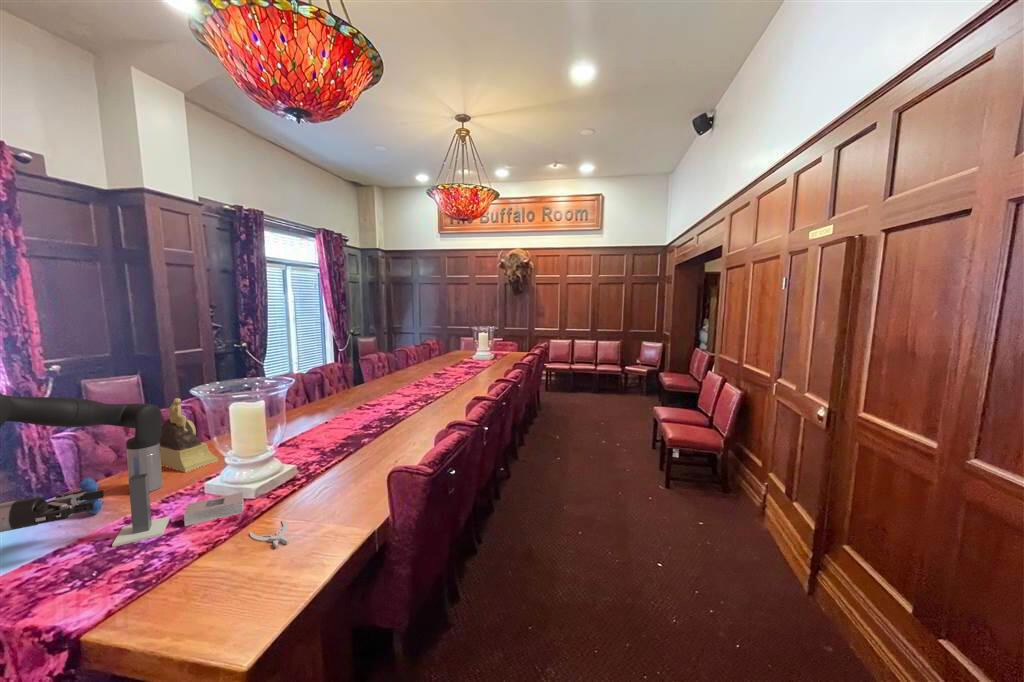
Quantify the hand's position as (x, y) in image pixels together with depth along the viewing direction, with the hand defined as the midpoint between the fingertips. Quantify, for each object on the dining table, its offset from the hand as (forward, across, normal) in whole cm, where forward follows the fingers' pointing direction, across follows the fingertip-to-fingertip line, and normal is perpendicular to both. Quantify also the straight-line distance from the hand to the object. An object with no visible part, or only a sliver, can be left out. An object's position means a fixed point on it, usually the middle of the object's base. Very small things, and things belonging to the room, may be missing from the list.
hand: (99, 499), depth 113 cm
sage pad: (+9, 0, +13) cm, 16 cm away
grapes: (-9, +24, +13) cm, 29 cm away
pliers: (+43, -25, +14) cm, 51 cm away
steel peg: (+9, 0, +12) cm, 15 cm away
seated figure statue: (+10, +64, +13) cm, 67 cm away
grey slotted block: (+27, +1, +13) cm, 30 cm away
